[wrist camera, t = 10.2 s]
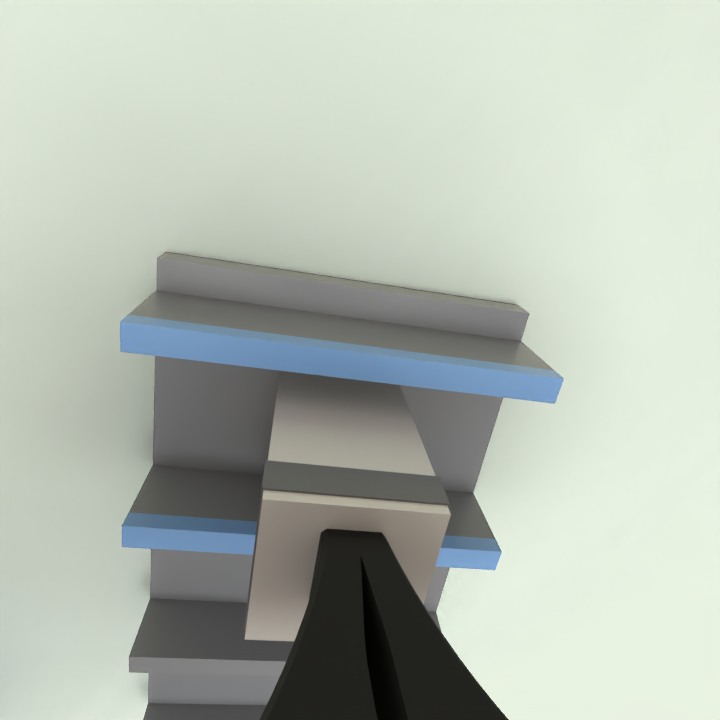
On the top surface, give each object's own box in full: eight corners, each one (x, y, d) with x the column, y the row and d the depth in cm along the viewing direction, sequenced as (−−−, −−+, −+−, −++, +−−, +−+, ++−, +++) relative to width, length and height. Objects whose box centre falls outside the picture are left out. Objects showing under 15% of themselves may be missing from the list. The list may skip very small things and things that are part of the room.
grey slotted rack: (153, 706, 24) (123, 811, 20) (166, 252, 16) (119, 282, 12) (395, 710, 25) (410, 807, 22) (517, 305, 17) (575, 346, 14)
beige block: (266, 465, 18) (242, 641, 11) (279, 362, 16) (260, 497, 10) (376, 475, 18) (412, 647, 12) (398, 377, 17) (453, 512, 10)
